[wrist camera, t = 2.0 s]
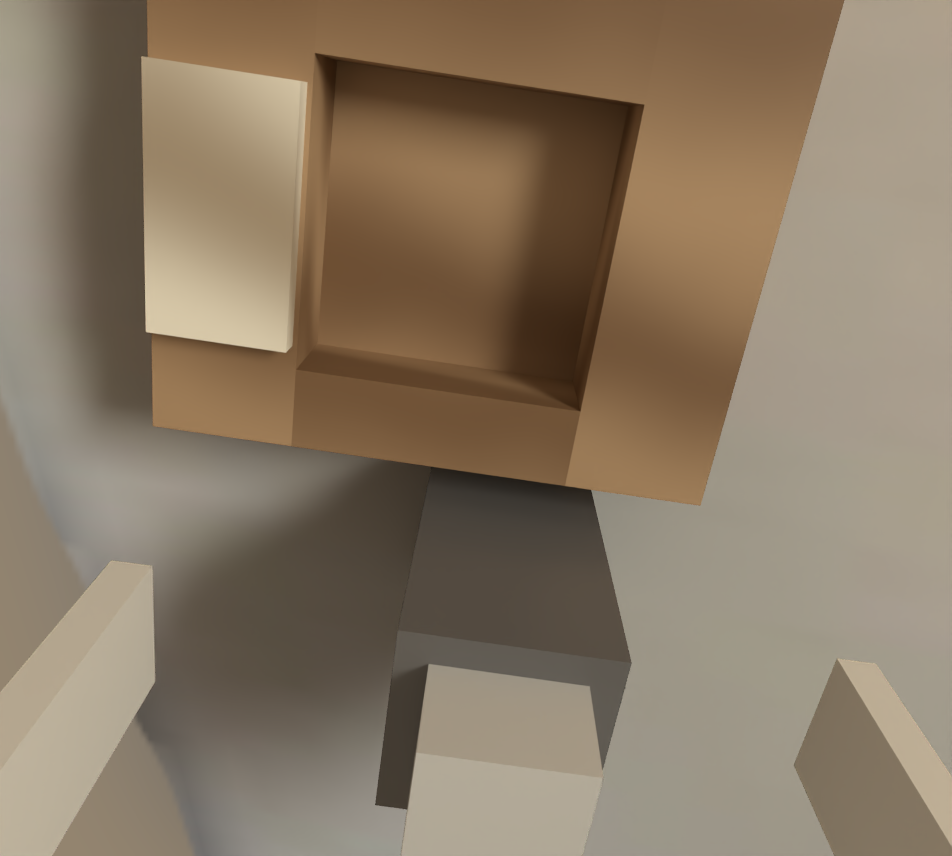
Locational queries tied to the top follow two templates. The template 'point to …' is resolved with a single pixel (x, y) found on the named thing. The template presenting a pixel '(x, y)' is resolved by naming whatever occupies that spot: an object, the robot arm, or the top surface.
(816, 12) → the socket board
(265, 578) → the top surface
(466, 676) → the plug
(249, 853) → the top surface
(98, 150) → the top surface
